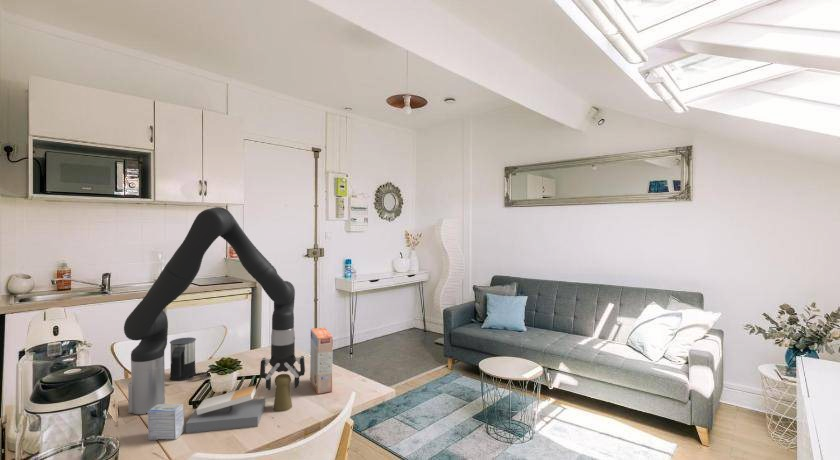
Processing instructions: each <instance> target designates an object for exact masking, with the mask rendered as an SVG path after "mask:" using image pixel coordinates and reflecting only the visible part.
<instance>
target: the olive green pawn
mask: <svg viewBox="0 0 840 460" xmlns="http://www.w3.org/2000/svg"><path fill="white" fill-rule="evenodd" d="M291 378H292V377H291V375H290V374H288V373H281V374H278V375H277V376H275V378H274V385H275V393H274V400H273V408H272V409H273V411H274V412H280V413H281V412H286V411H289V410H291V409H292V408H293V403H292V397H291V396H292V394H291V389H290V384H291V383H292V382H291V381H292V379H291Z"/></svg>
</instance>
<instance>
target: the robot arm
mask: <svg viewBox="0 0 840 460" xmlns="http://www.w3.org/2000/svg"><path fill="white" fill-rule="evenodd" d="M219 237H220V238H222V239H223V240H224V241H225V242H227V243H228V245H230V247H231V248H232V249H233V251H234V252H235V254H236V256H237V257H238V260H239V261H240V263H241V266H242V267H243V268H244V269H245V271H246V272H247V273H248V274H249V275H250V276H251V277H252V278H253V279H254V280H255V281H256V283H258V284H259V285H260V286H261V288H262V289H263V291H264V292H265V293H266V295H267V296H268V298H269V299H271V301H273V312H272V315H271V333H270V334H271V335H270V339H271V340H270V358H266V357H263V358H262V359H261V361H260V368H259V369H260V372H259V378H260V379H265V388H266V389H267V391H271V389H272V376H273V375H274V373H275V372H277V373H282V372H288V371H289V372H290V373H291V374H292V375H293V376H294V384H293V385H294V389H295V390H296V389H297V388H298V387H299V385H300V377H302V376H305V372H306V370H305V369H306V366H305V356H303V355H301V356H299V357H296V356H295V355H296V354H295V352H296V351H295V346H296V345H295V342H296V341H295V340H296V335H295V316H294V315H295V313H294V311H295V310H294V308H295V299H296V298H295V295H296V291H295V290H296V289H295V286H294V285H293V284H292V282H290V281H288V280H284V279H283V277H281V276H280V275H279V274H278V272H277V271H278V270H277V269H276V268H275V266H274V265H273V264H272V263H271V262H270V261H269V260H268V259H267V258H266V257H265V256H264V254H262V252H261V251H260V250H259V249H258V248H257V246H255V245H254V244H253V242H252V241H251V240H250V238H249V237H248V236H247V235H246V233H245V232H244V230H243V229H242V228H241V226H240V224H239V223H238V222H237V220H236V218H235V217H234V216H233V214H232V213H231V212H230V211H229V210H228V209H226V208H225V207H221V206H214V207H211V208H207V209H204V210H202V211H201V212H199V213H198V214H197V216H196V217H195V219H194V220H193V223H192V224H191V227H190V228H189V230H188V232H187V234H186V236H185V238H184V240H183V242H182V243H181V244H180V246H178V248H177V249H176V250H175V252H174V253H173V255H172V256H171V257H170V259H169V260H168V262H167V263H166V264H165V266H164V268H162V271H160V274H159V275H158V277H157V279H156V280H155V282H153V284H152V285H151V287H150V288H149V290H148V291H147V293H146V294H145V296H144V297H143V298H142V299H141V300H140V302H138V304H137V305H136V307H135V308H134V309H133V310H132V311H131V312H130V313H129V315H128V316H127V318H126V319H125V321H124V324H123V333H124V335H125V337H126V338H127V339H129V340H130V341H139V343H138V345H136V346H135V347H134V348H133V350H131V351H130V352H131V353H130V360H131V361H130V380H131V381H130V383H129V384H128V385H127V386H128V388H127V389H128V395H127V396H128V403H127V404H128V414H133V415H146V413H147V414H148V411H149V410H150V409H152V408H153V407H154V406H156V405H157V404H166V401H165V400H166V398H165V397H166V396H165V395H166V389H165V388H166V386H165V385H166V384H165V383H166V382H165V380H166V378H165V374H166V373H165V351H166V348H167V346H168V333H169V332H168V331H169V330H168V329H169V320H168V316H167V314H166V312H165V311H164V309H165V308H166V307H168V306H169V305H171V304H172V303H173V302H174V301H175V300H176V299H178V298H179V296H180V297H181V295H182V294H183V293H184V292H185V291H186V290H187V289H188V288H189V287H190V286H191V284H192V283H193V281H194V279H195V278H196V277H197V275H198V273H199V272H200V269H201V266H202V262H203V258H204V256H205V254H206V252H207V251H208V249H210V247H211V246H212V244H213V243H214V242H215V241H216V240H217V239H218V238H219ZM296 362H297V363H298V365H299V367H300V371H299V370H298V369H297V367H296V366H295V363H296ZM268 364H270V365H271V369H270V370H269V371H268V372H267V373H266V367H267V366H268Z"/></svg>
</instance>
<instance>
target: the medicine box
mask: <svg viewBox="0 0 840 460" xmlns="http://www.w3.org/2000/svg"><path fill="white" fill-rule="evenodd" d="M184 413H185V412H184V403H165V404H157V405H156V406H154V407H153V408H152V409H150V410H149V411H148V413H147V427H148V428H147V430H148V435H147V436H148V440H149V441H154V440H156V441H158V439H166V440H177V439H179V437H180V436H181V435H182V434H183V433H184V432H185V418H184V417H185V415H184Z"/></svg>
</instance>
